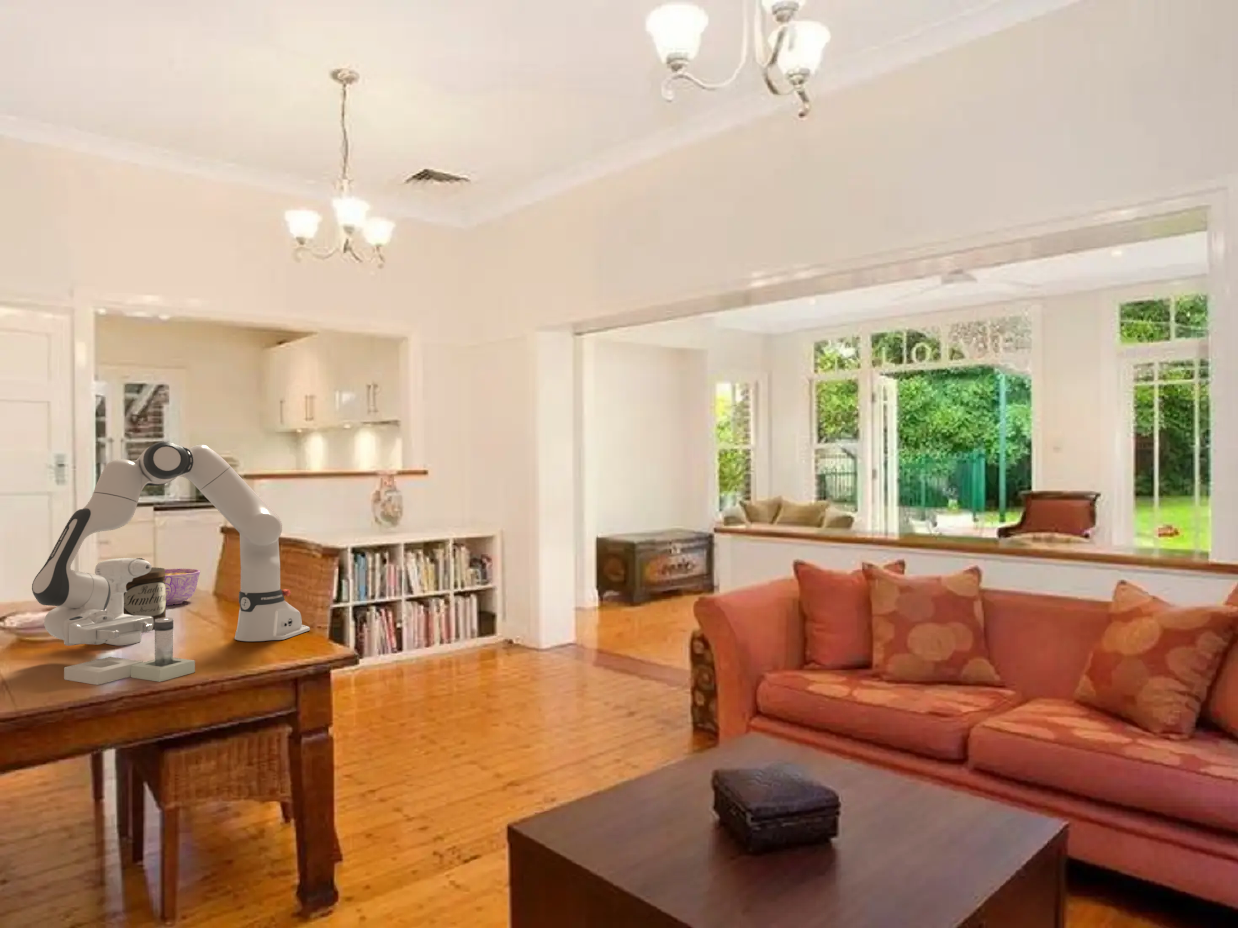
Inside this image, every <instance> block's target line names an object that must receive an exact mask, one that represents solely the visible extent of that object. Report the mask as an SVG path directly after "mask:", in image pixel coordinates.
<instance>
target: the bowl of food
mask: <svg viewBox="0 0 1238 928" xmlns="http://www.w3.org/2000/svg"><path fill="white" fill-rule="evenodd" d="M164 569H165V594H166V606H172V605H173V604H175V605H180V604H183V602H185V601H186V600H188V599H190V598H192V596H193V595H194V594H195V592H196V590H197V585H198V581H199V577H200V573H201V570H200V569H196V568H164ZM173 606H174V605H173Z"/></svg>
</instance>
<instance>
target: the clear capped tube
mask: <svg viewBox="0 0 1238 928" xmlns="http://www.w3.org/2000/svg"><path fill="white" fill-rule="evenodd" d="M153 630H154V660H155V666H159V667H163V666H167V665H170V664H173V658H174V618H173V617H166V618H158V619H155V622H154V629H153Z"/></svg>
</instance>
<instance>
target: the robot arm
mask: <svg viewBox="0 0 1238 928" xmlns="http://www.w3.org/2000/svg"><path fill="white" fill-rule="evenodd" d="M178 477H183V478H184V479H186V480H187V481H190V482H191V483H192V484H193V486H194V487H196V489H198V490H199V492H200V493H201V494H202V495H203V496H204V498H206V499H207V500H208V501H209V502H210V503H211V505H213V507H215V509H216V510H217V511H219V513H220V514H221V515H222V516H223V517H224V518H225V519H226V520H227V521H228V523H230V525H231V526H232V527H233V528H234V529H235V530H236V531H237V532H238V533H239V558H240V559H239V561H240V591H238V604H239V610H238V620H237V627H236V631H235V634H234V635H235V636H234V640H237V641H239V642H240V641H241V642H265V641H281V640H285V639H289V638H293V637H295V636H298V635H300V634H303V633H305V632H308V631H310V630H311V629H310V626H307V625H305V624H303V621H302V614H301V612H300V611H299V610H298V609H297V608H295V607H294V606H292V605H291V604H289V602H287V601H286V599H285V596H286V597H290V596H291V593H292V590H290V589H286V588H285V589H284V588H283V589H282V588H281V559H280V558H281V557H280V545H279V538H280V537H281V534H282V531H283V523H282V521H281V519H280V517H279V516H278V515H277V514H276V512H275V511H274V510H273V509H272V508H271V507H270V506H269V505H268V504H267V502H265V501H264V500H263V499H262V498H261V496H260V495H259V494H257V493H256V492H255V490H253V488H252V487H251V486H250V485H249V484H248V483H247V482H246V481H245V480H244V479H243V478H242V477H241V476H240V475H239V474H238V472H237V471H236V470H235V469H234V468H233V467H232V466H231V465H230V464H229V463H228V462H227V461H226V460H225V459H224V458H223V457H222V456H221V455H220V454H219V453H218V452H216V451H215V450H213V449H212V448H210V447H209V446H208V445H206V444H197V445H193V446H190V447H189V448H187V447H184V446H182V445H179V444H177V443H175V442H170V441H158V442H155V443H153V444H151V445H150V446H148V447H147V448H145V449H144V450H143V451H142V452H141V454H140V456H138V457H137V458H136V459H134V460H130V459H127V458H125V459H124V458H118V459H113V460H111V461H109V462H108V463H107V464H106V465H105V467H104V468H103V470H102V472H101V474H100V476H99V478H98V480H97V483H96V484H95V487H94V489H93V492H92V495H91V498H90V499H89V501H88V502H87V504H86V505H85V506H84V507H83V508H81V509H77V510H76V511H75V512H74V513H73V514H72V515H71V517H70V518H69V519H68V521H67V523H66V524H65V527H64V528H63V530H62V532H61V534H60V535H59V538H58V540H57V541H56V544H55V546H54V547H53V549H52V551H51V553H50V554H49V556H48V558H47V560H46V562H45V563H44V565H43V566H42V568H41V569H40V570H39V572H38V573H37V574H36V576H35V577H34V579H33V581H32V584H31V590H32V591H31V592H32V594H33V596H34V598H35V600H36V602H38V603H39V604H40V605H43V606H50V607H52V606H53V607H54V608H52V609H51V610H49V611H48V612H47V613H46V615H45V617H44V622H43V625H44V628H45V630H46V632H47V633H48V634H49V635H50V636H51V637H53V638H56V639H59V640H62V641H63V643H64V646H69V647H70V646H78V645H85V644H86V645H102V644H106V643H105V642H107V641H108V640H109V639H114V638H118V637H120V636H125V635H129V634H134V633H139V632H141V633H143V632H151V631H153V630H154V629H153V623H154V622H153V617H152V616H140V615H134V616H126V617H120V618H115V617H114V616H113V614H112V613H110V612H108V611H106V607H107V605H108V603H109V600H110V595H111V590H110V585H109V583H108V581H107V579H106V578H105V577H103V576H99V575H95V573H89V572H85V571H84V572H83V571H78V570H75V569H74V570H73V569H72V568H71V566H72V564H73V561H74V560H75V558H76V556H77V554H78V552H79V550H80V548H81V546H82V544H83V543H84V541H85V539H87V538H88V537H89V536H90V535H92V534H95V533H98V532H107V531H108V532H109V531H114V530H118V529H121V528H123V527H124V526H126V525H127V524H128V523H130V522H131V521H132V519H133V517H134V515H135V512H136V509H137V506H138V503H139V500H140V496H141V493H142V491H143V489H144V488H145V486H161V485H165V484H168V483H170V482H172V481H174V480H175V479H176V478H178Z"/></svg>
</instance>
